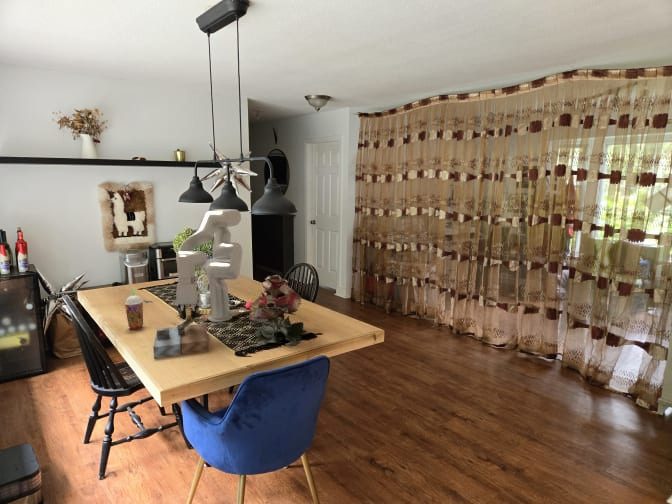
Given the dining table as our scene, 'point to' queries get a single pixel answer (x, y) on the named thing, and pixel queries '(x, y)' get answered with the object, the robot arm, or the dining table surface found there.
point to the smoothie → (134, 311)
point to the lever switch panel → (180, 341)
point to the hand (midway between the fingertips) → (189, 317)
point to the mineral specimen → (187, 306)
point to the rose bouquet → (276, 312)
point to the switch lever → (188, 318)
